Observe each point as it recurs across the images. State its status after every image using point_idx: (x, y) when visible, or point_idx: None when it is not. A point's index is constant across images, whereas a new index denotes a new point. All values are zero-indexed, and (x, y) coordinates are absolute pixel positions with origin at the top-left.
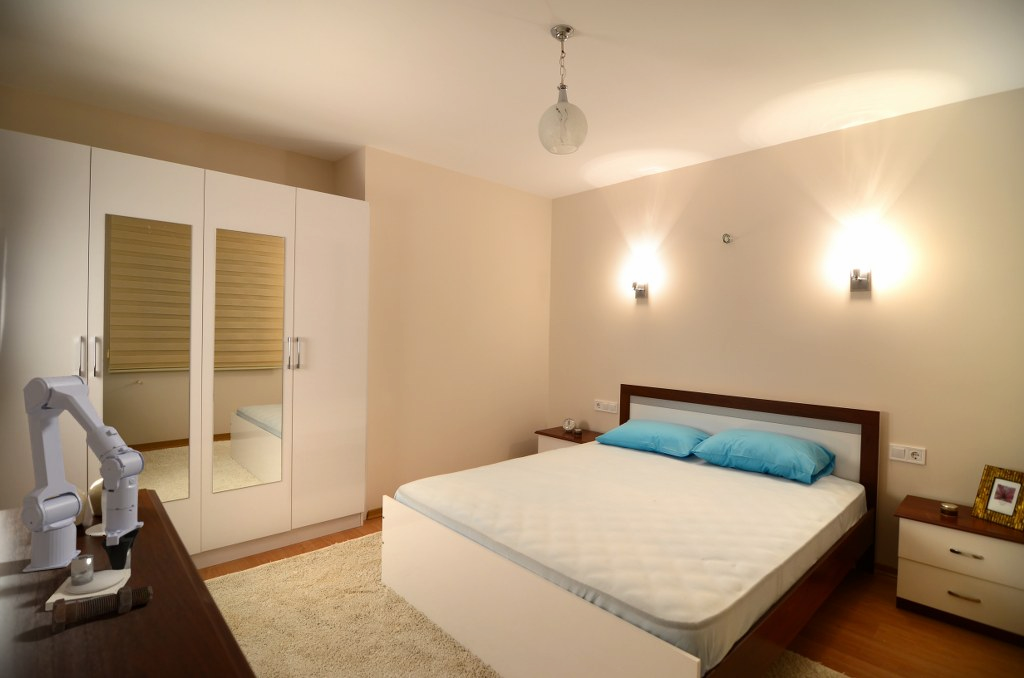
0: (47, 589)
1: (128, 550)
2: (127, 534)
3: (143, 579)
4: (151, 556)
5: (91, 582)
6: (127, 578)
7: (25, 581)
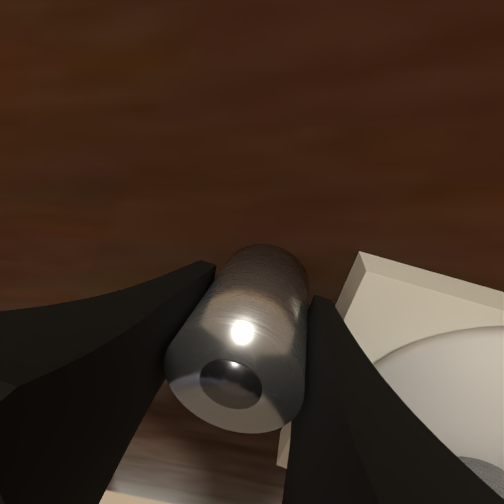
0: (285, 471)
1: (276, 347)
2: (63, 459)
3: (498, 189)
4: (97, 126)
5: None
6: (429, 275)
7: (177, 484)
